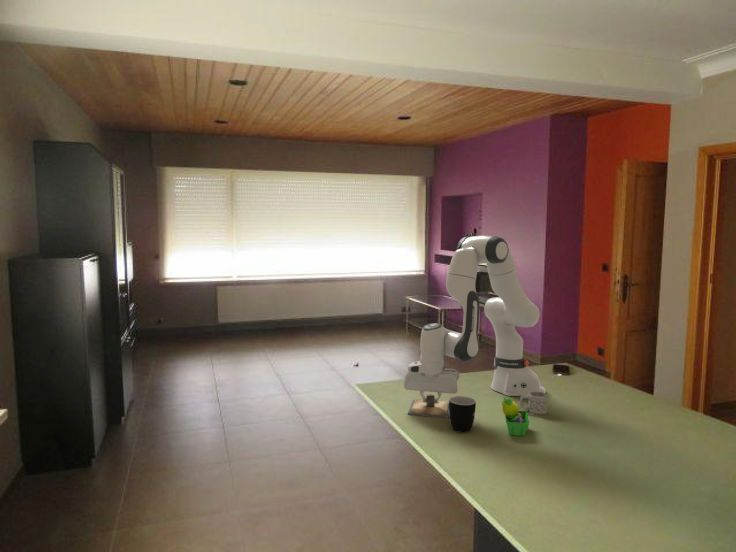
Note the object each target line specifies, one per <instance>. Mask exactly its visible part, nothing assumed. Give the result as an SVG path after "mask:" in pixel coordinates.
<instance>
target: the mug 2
mask: <svg viewBox="0 0 736 552" xmlns="http://www.w3.org/2000/svg"><path fill="white" fill-rule="evenodd" d="M519 397H520V398H519V408H521V409H524V410H527V411H528V412H529V413H531V414H534V415H546V414H547V410H548V394H547V393H546V394H545V393H543V392H535V391H534V392H529V395H526V396H519ZM524 399H527V400H528V402H527V403H528V405H523V401H524Z"/></svg>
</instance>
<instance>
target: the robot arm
mask: <svg viewBox="0 0 736 552" xmlns="http://www.w3.org/2000/svg"><path fill="white" fill-rule="evenodd" d="M481 264H486V270H487V274H488V277H489V282H490V286H491V289H492V291H493V292H494V294H495V295H496V296H497V297H491V298H490V297H489V298H488V299H487V300H486V302H485V304H484V308H483V311H484V314H485V317H486V318H487V319H488V321H489V322H490V323H491V325H492V327H493V331H494V334H495V354H494V359H493V360H494V361H493V367H494V368H493V369H494V373H493V377H492V382H491V384H490V389H492V391H495V392H498V393H501V394H504V395H505V396H511V397H514V396H515V397H521V396H526V395H529V392H534V391H535V392H543V393H545V394H547V391H546V388H545V386H542V385H541V381H540V380H541V379H540V378H539V377H540V376H538V375H537V373H536V372H535V371H533V370H532V369H531V368H529V365H530V362H529V360H528V359H526V357H523V356H524V355H523V354H524V350H523V349H524V339H523V337H522V336H521V335H520V334H519V332H517V330H516V327H518V328H532V327H534V326H535V325H536V324H537V323H538V322H539V320H540V315H541V314H540V309H539V308H538V307H539V306H537V305H536V304H535V303H533V301H531V300H530V299H529V298H528V296H527V294H525V292H524V289H522V286H521V284H520V280H519V277H518V273H517V269H516V265H515V261H514V258H513V255H512V252H511V251H510V248H509V245H508V243H507V241H506V240H505V239H504V238H503V237H501V236H496V235H493V236H491V235H474V236H472V235H469V236H468V235H467V236H465V237H462V238H461V239H460V240H459V241H458V243H457V246H456V250H455V251H454V253H453V255H452V257H451V261H450V263H449V267H448V270H447V274H446V279H445V280H446V281H445V290H446V291H447V293H448V294H449V296H450V297H451V298H452V299H454V300H455V301H456V302H457V303H459V305H460V306H461V307H462V310H463V316H462V317H463V318H462V319H463V322H462V331H461V332H457V331H454V330H451V329H447V328H446V327H444V326H443V325H442V324H441V323H437V322H435V323H434V322H433V323H428V324H426V325H424V326H423V327H422V329H421V333H420V341H419V343H420V345H419V347H420V357H419V360H416V361H413V362H410V363H408V365H407V372H406V374H405V376H404V382H403V388H404V390H406V391H415V392H416V391H417V392H419V395H420V397H421V398H422V400H423V402H425V403H426V402H427V396H425V395H424V394H425V392H428V393H437V397H435V399H434V403H436V404H438V401H440V400H439V399H440V398H441V396H442V394H453V395H454V394H455V395H456V394H457V393H458V391H459V384H458V380H459V379H460V372H459V370H457V369H456V368H449V367H444V356H447V357H451V358H453V359H456V360H458V361H461V362H464V363H469V362H471V361H473V360H474V359H475V358H476V357H477V356H478V354H479V351H480V345H479V344H480V343H479V323H480V322H479V320H480V297H479V294H478V293H477V290H476V283H477V282H476V281H477V275H478V267H479V265H481Z"/></svg>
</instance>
